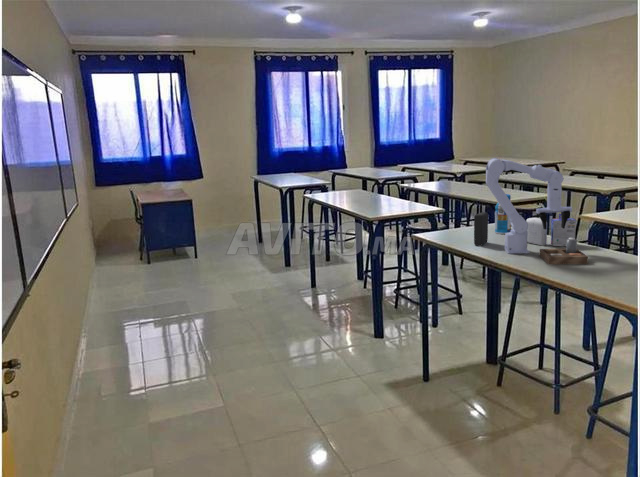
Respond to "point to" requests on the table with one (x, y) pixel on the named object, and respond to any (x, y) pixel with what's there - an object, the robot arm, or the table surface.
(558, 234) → the ink cartridge box
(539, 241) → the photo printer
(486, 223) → the black upright block
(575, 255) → the socket board
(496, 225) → the beverage bottle
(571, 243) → the plug
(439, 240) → the table surface
